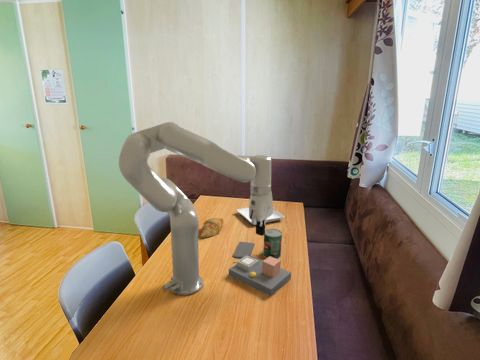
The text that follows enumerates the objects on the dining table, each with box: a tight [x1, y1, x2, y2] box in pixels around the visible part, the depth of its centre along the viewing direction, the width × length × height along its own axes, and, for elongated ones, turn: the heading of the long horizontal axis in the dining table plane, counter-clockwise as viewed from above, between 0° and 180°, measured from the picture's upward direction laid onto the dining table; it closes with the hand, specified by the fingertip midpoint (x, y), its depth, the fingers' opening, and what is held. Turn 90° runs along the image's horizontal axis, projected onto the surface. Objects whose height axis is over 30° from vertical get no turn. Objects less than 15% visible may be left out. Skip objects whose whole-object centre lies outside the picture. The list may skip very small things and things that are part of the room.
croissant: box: [200, 217, 224, 239], centre depth 162 cm, size 21×10×8 cm, turn 157°
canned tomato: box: [263, 228, 283, 260], centre depth 138 cm, size 8×8×11 cm
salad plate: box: [236, 207, 285, 224], centre depth 180 cm, size 21×21×3 cm
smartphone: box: [232, 241, 256, 259], centre depth 143 cm, size 8×1×15 cm
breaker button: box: [241, 257, 255, 266], centre depth 125 cm, size 4×4×2 cm
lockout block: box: [262, 256, 282, 277], centre depth 120 cm, size 5×5×5 cm
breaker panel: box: [228, 254, 292, 297], centre depth 122 cm, size 14×20×5 cm
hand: (260, 234), depth 120 cm, fingers closed
